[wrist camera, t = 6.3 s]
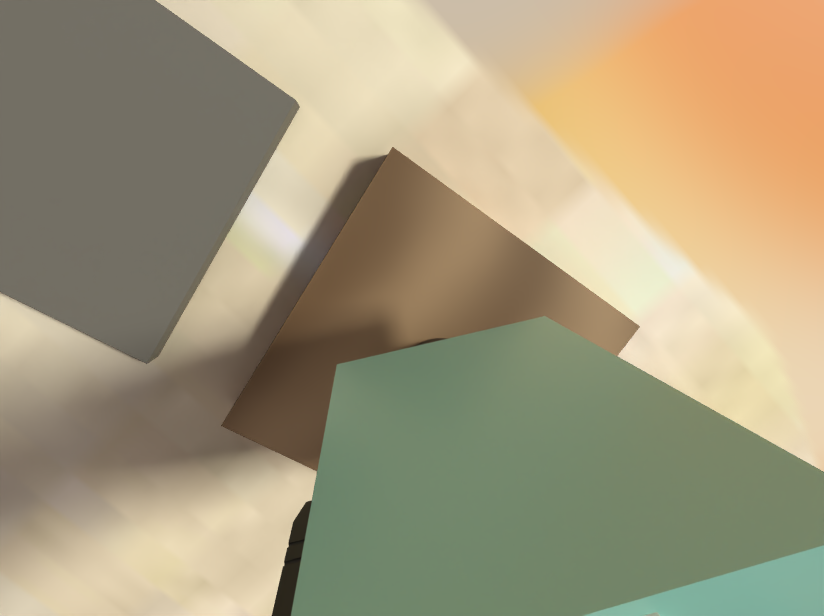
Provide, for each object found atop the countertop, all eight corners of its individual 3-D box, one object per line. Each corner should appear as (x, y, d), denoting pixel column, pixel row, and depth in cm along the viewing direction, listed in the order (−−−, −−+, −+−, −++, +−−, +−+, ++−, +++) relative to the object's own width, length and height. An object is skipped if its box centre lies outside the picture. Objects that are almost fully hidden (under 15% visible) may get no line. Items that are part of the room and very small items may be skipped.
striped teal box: (336, 364, 10) (267, 740, 3) (544, 316, 10) (942, 538, 3) (383, 537, 11) (416, 1071, 4) (564, 489, 12) (868, 906, 5)
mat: (-167, 194, 13) (-202, 192, 12) (-38, -133, 11) (-68, -159, 10) (158, 356, 15) (146, 363, 14) (299, 106, 14) (295, 100, 13)
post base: (234, 406, 16) (136, 548, 9) (389, 153, 14) (410, 98, 7) (463, 518, 19) (518, 692, 12) (616, 316, 17) (782, 384, 10)
